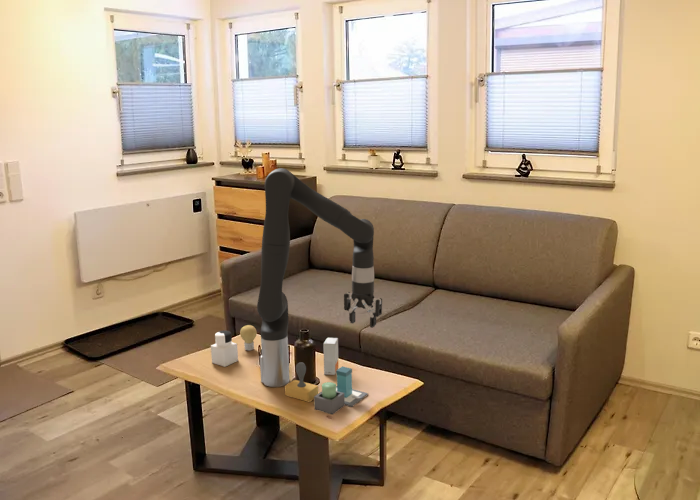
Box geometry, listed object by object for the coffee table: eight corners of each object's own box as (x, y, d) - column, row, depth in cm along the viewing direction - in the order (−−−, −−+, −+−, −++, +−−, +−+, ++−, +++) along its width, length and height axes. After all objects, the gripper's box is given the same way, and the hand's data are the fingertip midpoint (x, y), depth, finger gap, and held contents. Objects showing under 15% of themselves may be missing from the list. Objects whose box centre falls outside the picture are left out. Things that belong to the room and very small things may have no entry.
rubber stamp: (318, 395, 221) (317, 362, 218) (308, 402, 216) (307, 368, 213) (294, 389, 226) (293, 356, 223) (284, 395, 221) (283, 362, 218)
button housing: (314, 409, 211) (314, 396, 210) (326, 400, 217) (326, 388, 216) (332, 414, 208) (332, 401, 206) (344, 405, 213) (344, 392, 212)
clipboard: (321, 398, 219) (321, 395, 218) (337, 386, 227) (337, 384, 227) (351, 406, 212) (351, 404, 212) (367, 394, 221) (367, 391, 220)
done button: (319, 397, 211) (318, 386, 210) (327, 392, 214) (327, 381, 213) (331, 401, 208) (330, 389, 207) (339, 395, 212) (338, 384, 211)
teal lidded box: (336, 395, 219) (336, 370, 217) (342, 391, 222) (342, 366, 220) (346, 398, 217) (345, 372, 215) (352, 393, 220) (352, 368, 218)
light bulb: (260, 349, 261) (259, 325, 259) (248, 353, 257) (246, 329, 254) (250, 345, 265) (249, 321, 263) (238, 349, 261) (236, 326, 259)
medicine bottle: (225, 356, 254) (223, 327, 252) (238, 360, 250) (236, 331, 247) (211, 363, 249) (209, 333, 246) (224, 367, 245) (222, 337, 242)
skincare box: (335, 375, 236) (334, 344, 233) (323, 374, 237) (322, 343, 234) (339, 368, 242) (338, 337, 239) (327, 367, 243) (326, 337, 240)
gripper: (339, 278, 222) (339, 324, 226) (376, 284, 214) (375, 332, 218) (350, 273, 228) (350, 317, 232) (387, 279, 221) (386, 325, 225)
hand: (362, 324), depth 225 cm, fingers open, 7 cm apart
